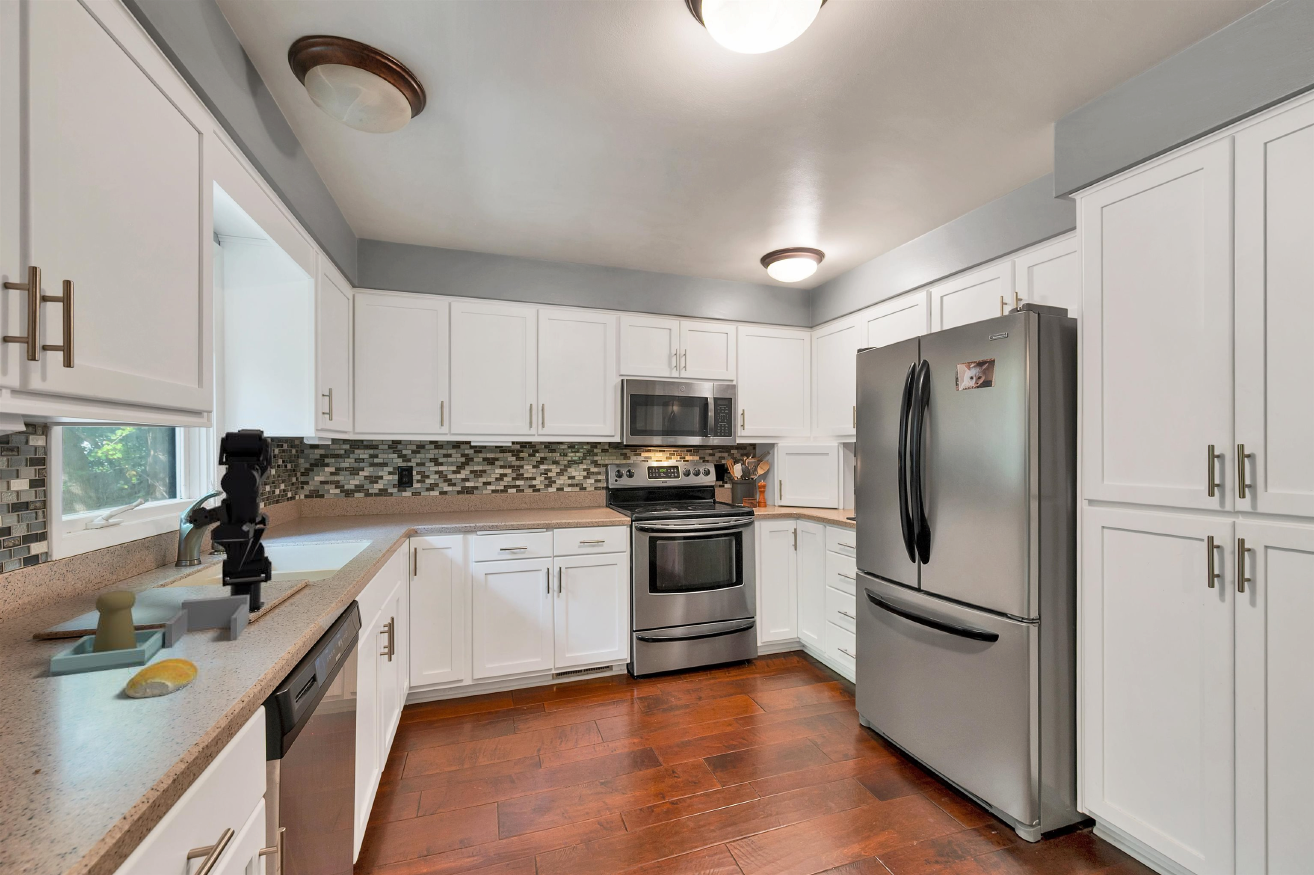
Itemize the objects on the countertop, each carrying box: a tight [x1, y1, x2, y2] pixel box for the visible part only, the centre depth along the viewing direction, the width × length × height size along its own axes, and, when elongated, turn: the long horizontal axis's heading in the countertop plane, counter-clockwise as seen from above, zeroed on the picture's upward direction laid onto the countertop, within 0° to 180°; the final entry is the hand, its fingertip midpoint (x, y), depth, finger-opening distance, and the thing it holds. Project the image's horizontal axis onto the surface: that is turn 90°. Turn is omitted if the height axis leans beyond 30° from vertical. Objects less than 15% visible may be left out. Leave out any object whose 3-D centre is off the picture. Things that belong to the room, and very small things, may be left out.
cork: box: [92, 590, 137, 653], centre depth 101 cm, size 6×6×11 cm
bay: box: [164, 595, 250, 649], centre depth 114 cm, size 12×11×6 cm
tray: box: [50, 627, 166, 677], centre depth 101 cm, size 12×12×3 cm
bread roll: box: [124, 658, 199, 699], centre depth 91 cm, size 8×9×4 cm
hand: (241, 566), depth 118 cm, fingers open, 9 cm apart
